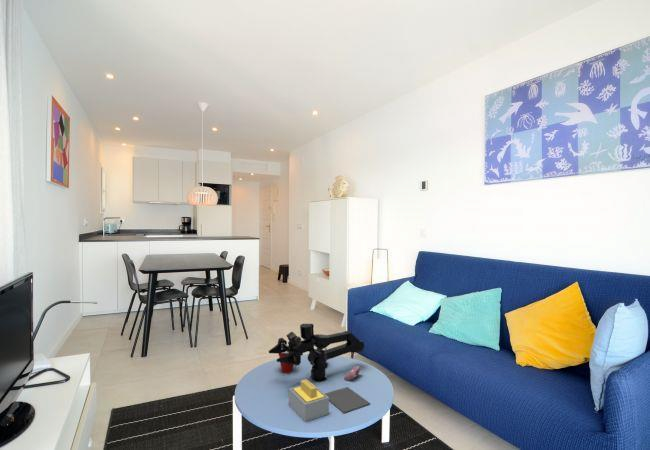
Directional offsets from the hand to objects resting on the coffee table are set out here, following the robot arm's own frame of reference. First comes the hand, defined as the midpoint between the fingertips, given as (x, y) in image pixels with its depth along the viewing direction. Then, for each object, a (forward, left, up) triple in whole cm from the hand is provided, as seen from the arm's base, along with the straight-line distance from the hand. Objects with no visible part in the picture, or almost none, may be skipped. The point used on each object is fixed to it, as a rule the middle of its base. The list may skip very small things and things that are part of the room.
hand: (272, 356), depth 157 cm
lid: (-7, +22, -10) cm, 25 cm away
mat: (-25, +24, -16) cm, 38 cm away
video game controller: (-41, +7, -17) cm, 45 cm away
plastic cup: (-15, -16, -17) cm, 28 cm away
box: (-7, +22, -16) cm, 28 cm away
